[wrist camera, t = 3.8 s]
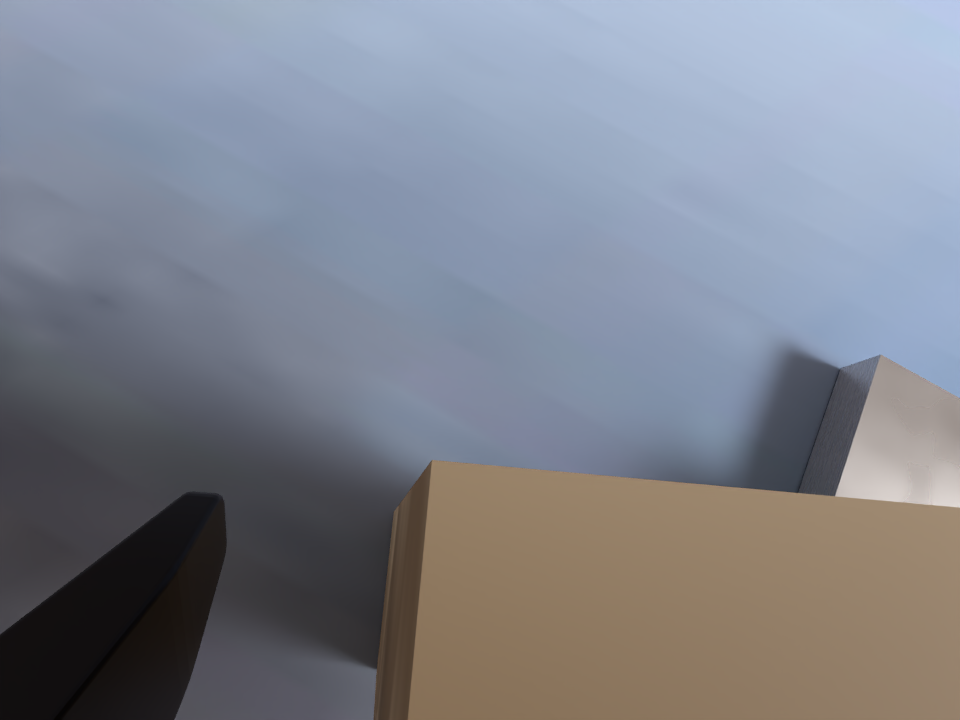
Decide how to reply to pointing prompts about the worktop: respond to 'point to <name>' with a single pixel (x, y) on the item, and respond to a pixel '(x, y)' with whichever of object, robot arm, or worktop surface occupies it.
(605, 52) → the worktop surface
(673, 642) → the tan block
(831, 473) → the bracket plate
